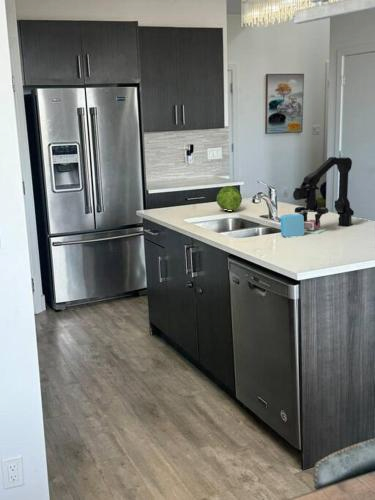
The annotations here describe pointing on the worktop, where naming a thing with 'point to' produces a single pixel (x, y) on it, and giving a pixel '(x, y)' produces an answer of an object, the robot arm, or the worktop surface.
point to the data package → (292, 225)
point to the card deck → (311, 225)
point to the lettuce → (229, 198)
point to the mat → (315, 231)
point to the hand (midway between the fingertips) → (311, 225)
